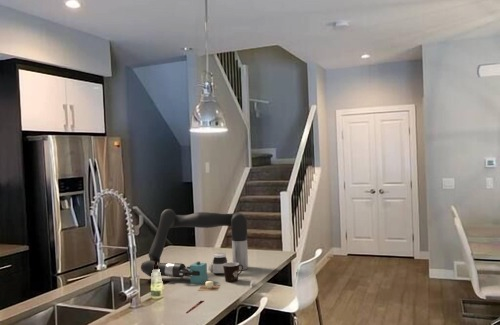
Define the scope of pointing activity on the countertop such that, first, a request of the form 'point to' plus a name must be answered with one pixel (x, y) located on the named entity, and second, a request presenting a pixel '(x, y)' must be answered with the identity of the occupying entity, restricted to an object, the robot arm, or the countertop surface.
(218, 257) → the spread jar
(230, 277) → the coffee mug
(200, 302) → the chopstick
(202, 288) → the walnut board
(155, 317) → the countertop surface
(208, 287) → the cream cheese
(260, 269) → the countertop surface
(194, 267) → the teal rectangular block
